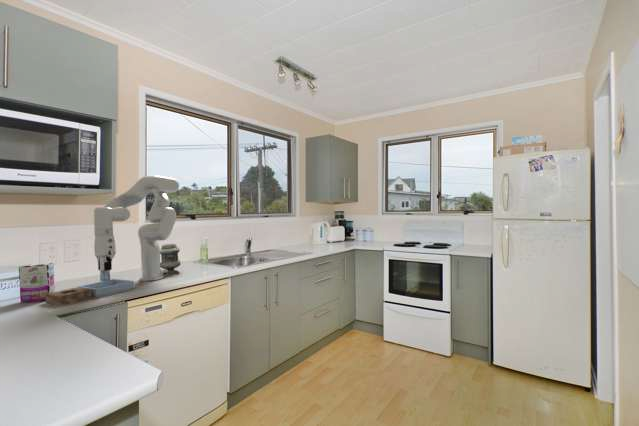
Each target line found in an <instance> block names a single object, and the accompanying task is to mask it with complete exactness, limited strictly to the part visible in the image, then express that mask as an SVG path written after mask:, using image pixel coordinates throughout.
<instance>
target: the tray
mask: <svg viewBox="0 0 639 426" xmlns="http://www.w3.org/2000/svg"><path fill="white" fill-rule="evenodd" d="M76 287H77V288H84V289H91V296H92V298H94V299H98V298H102V297H106V296H110V295H115V294H119V293H123V292H126V291H131V290H134V288H135V287H134V280H130V279H121V278H120V279H119V278H112V279H111V278H110V280H108V281H98V282H93V283H91V282H90V283H88V284H83V285H78V286H76Z"/></svg>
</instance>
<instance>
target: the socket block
mask: <svg viewBox="0 0 639 426" xmlns="http://www.w3.org/2000/svg"><path fill="white" fill-rule="evenodd" d="M92 298H93V297H92V296H91V289H84V288H77V286H76V287H71V288H65V289H63V290H62V289H61V290H58V291H55V292H52V293H48V294H46V301H45V303H46V304H50V305H54V306H60V307H63V306H66V305H69V304H75V303H78V302H81V301H86V300H90V299H92Z"/></svg>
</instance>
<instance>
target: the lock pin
mask: <svg viewBox="0 0 639 426" xmlns="http://www.w3.org/2000/svg"><path fill="white" fill-rule="evenodd" d="M107 256H108V255H107ZM107 258H108V257H107ZM104 262H105V258H104V256H100V270H99V282H101V281H108V280H111V270H107V271H105V270H104Z"/></svg>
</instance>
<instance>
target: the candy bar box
mask: <svg viewBox="0 0 639 426" xmlns="http://www.w3.org/2000/svg"><path fill="white" fill-rule="evenodd" d="M18 278H19V295H20V296H19V297H20V303H21V302H26V303H34V302H35V303H36V302H44V301H45V302H46V294H48V293H52V292H56V291H55V290H56V289H55V287H56V286H55V269H54V262H49V263H48V262H46V263H32V264H23V265H20V266H18Z"/></svg>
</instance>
